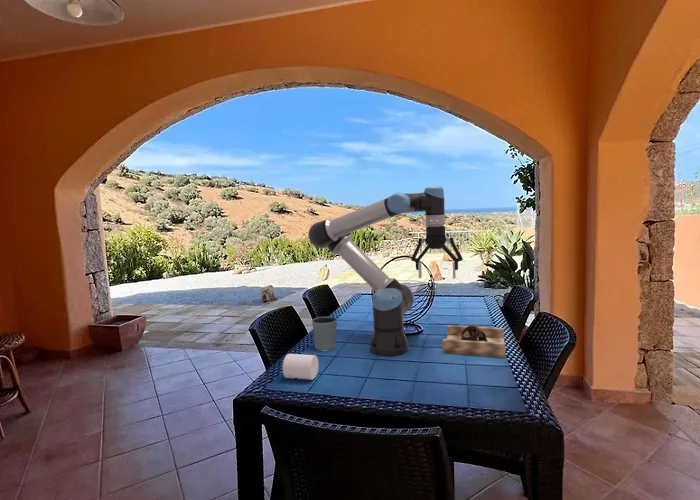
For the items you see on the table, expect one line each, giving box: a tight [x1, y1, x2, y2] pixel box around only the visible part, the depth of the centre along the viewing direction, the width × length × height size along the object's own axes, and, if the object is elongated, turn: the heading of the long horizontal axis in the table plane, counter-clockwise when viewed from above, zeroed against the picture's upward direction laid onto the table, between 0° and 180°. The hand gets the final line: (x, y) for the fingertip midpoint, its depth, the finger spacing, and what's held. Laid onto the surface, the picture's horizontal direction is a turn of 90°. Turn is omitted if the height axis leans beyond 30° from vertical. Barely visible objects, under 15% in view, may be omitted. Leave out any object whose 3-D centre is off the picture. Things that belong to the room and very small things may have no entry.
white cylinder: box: [282, 353, 319, 381], centre depth 131 cm, size 12×10×8 cm
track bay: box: [442, 324, 506, 359], centre depth 149 cm, size 22×19×5 cm
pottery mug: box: [461, 324, 488, 342], centre depth 149 cm, size 12×10×8 cm
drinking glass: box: [311, 315, 338, 351], centre depth 156 cm, size 10×10×12 cm
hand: (437, 278), depth 153 cm, fingers open, 13 cm apart
